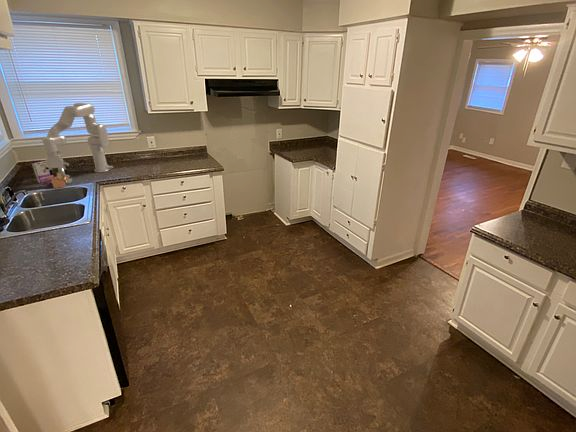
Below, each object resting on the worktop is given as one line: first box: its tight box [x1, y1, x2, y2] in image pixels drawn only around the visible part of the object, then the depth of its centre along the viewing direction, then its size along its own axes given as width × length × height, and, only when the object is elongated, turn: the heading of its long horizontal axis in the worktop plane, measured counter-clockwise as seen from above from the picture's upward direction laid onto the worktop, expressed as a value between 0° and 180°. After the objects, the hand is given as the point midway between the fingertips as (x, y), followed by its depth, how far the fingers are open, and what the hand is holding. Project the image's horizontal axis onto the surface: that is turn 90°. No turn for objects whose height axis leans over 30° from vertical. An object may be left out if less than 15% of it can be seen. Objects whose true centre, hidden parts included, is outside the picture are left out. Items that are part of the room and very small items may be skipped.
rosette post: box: [50, 168, 73, 189], centre depth 252 cm, size 10×20×12 cm, turn 20°
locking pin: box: [56, 171, 63, 179], centre depth 250 cm, size 3×3×10 cm
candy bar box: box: [31, 160, 55, 184], centre depth 255 cm, size 11×5×16 cm, turn 148°
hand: (59, 174), depth 249 cm, fingers open, 9 cm apart
